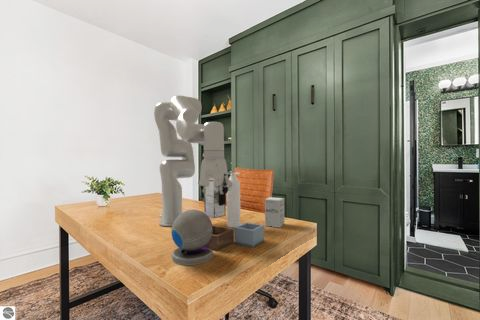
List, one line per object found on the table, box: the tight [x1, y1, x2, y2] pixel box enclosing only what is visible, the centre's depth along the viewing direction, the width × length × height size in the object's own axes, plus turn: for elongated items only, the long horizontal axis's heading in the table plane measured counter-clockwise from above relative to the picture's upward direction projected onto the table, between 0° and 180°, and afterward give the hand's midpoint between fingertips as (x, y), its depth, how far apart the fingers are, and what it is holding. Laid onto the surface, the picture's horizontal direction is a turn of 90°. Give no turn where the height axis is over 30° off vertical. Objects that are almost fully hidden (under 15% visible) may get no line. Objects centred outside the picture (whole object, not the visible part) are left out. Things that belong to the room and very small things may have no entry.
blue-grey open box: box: [234, 222, 265, 249], centre depth 88 cm, size 8×8×6 cm
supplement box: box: [264, 196, 285, 229], centre depth 110 cm, size 7×7×13 cm
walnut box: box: [205, 224, 235, 252], centre depth 87 cm, size 10×10×5 cm
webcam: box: [170, 209, 214, 266], centre depth 76 cm, size 13×13×15 cm
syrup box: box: [203, 178, 227, 219], centre depth 87 cm, size 6×6×14 cm
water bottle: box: [226, 171, 242, 229], centre depth 111 cm, size 9×6×25 cm
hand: (214, 203), depth 87 cm, fingers closed on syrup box, 6 cm apart
